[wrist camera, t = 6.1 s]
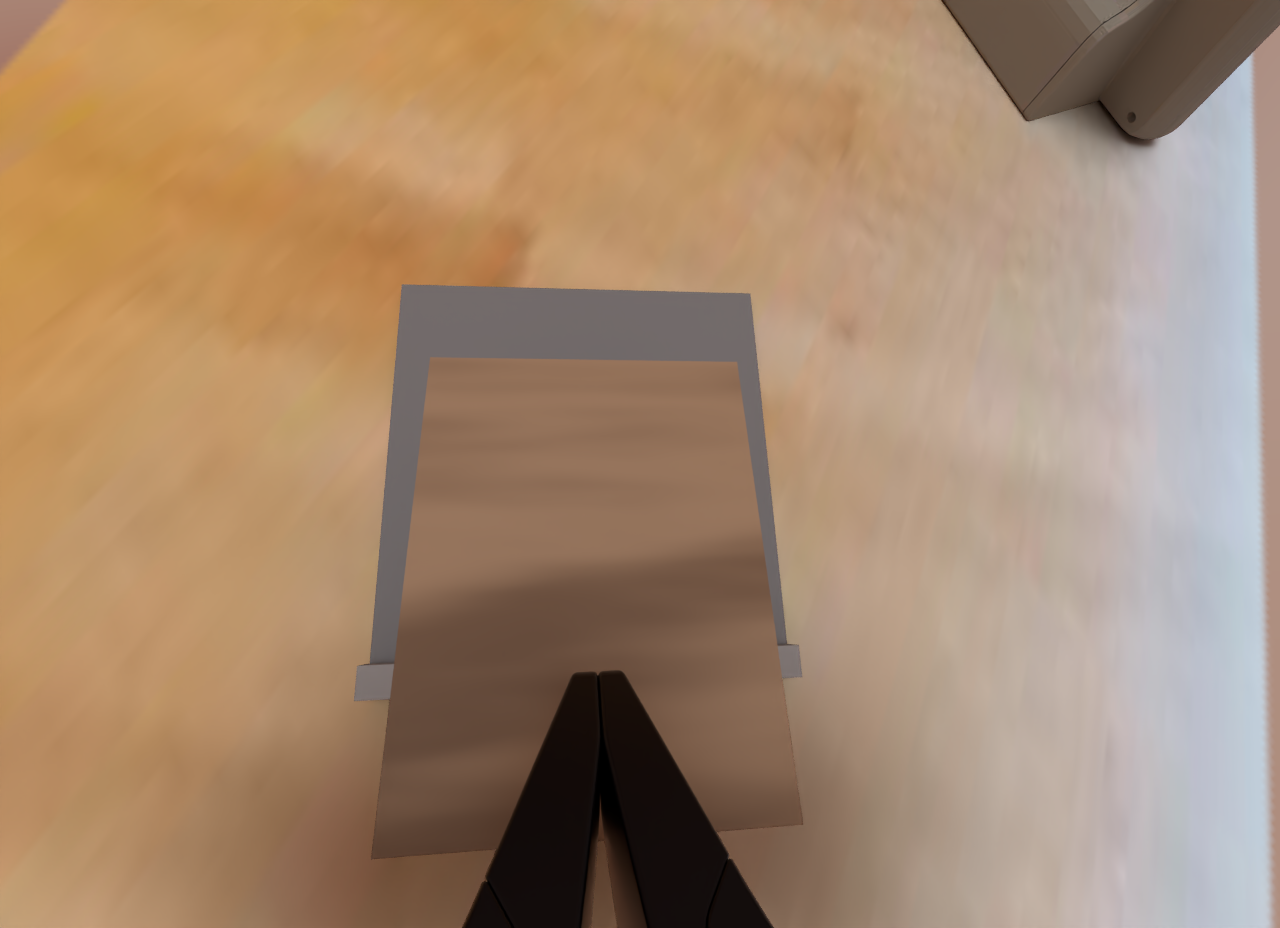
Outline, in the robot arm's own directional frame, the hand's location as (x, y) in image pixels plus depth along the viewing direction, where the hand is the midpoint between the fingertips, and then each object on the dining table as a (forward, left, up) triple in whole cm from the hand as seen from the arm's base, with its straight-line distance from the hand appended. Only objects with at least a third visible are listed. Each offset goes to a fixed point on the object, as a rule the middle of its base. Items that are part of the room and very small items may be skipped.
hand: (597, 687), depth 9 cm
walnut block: (-4, 0, -6) cm, 7 cm away
